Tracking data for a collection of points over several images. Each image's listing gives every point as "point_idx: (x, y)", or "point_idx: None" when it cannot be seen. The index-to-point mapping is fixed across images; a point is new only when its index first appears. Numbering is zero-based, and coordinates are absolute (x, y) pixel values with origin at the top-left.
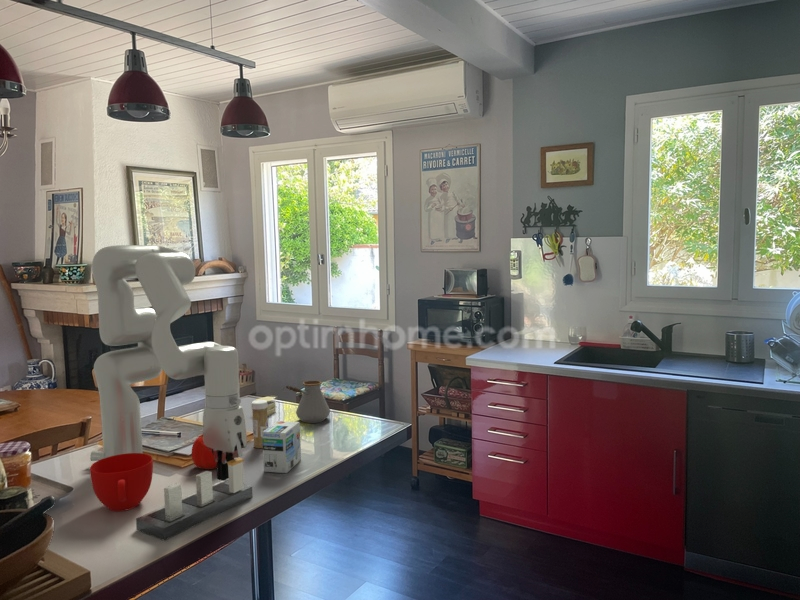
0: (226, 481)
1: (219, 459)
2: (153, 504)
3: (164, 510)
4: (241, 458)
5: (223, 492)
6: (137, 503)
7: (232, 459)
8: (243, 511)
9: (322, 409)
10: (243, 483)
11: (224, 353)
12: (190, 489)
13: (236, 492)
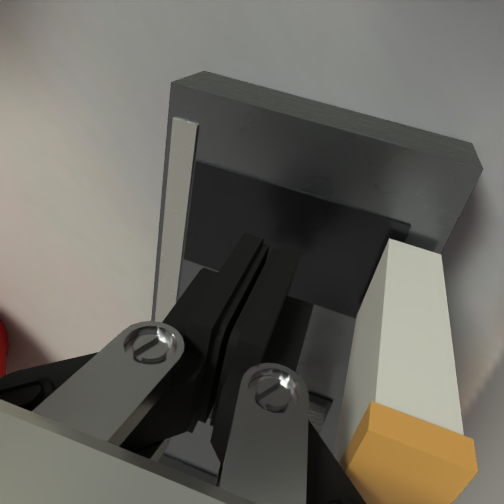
0: (209, 123)
1: (170, 436)
2: (36, 305)
3: (177, 468)
4: (441, 458)
5: (312, 303)
6: (3, 344)
7: (315, 446)
8: (497, 339)
9: None
10: (442, 275)
11: None
12: (26, 130)
13: None
